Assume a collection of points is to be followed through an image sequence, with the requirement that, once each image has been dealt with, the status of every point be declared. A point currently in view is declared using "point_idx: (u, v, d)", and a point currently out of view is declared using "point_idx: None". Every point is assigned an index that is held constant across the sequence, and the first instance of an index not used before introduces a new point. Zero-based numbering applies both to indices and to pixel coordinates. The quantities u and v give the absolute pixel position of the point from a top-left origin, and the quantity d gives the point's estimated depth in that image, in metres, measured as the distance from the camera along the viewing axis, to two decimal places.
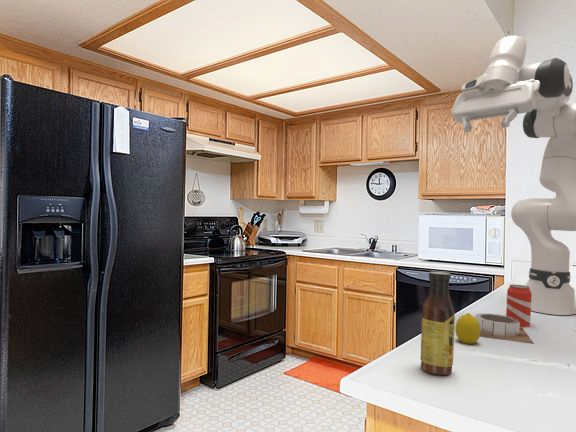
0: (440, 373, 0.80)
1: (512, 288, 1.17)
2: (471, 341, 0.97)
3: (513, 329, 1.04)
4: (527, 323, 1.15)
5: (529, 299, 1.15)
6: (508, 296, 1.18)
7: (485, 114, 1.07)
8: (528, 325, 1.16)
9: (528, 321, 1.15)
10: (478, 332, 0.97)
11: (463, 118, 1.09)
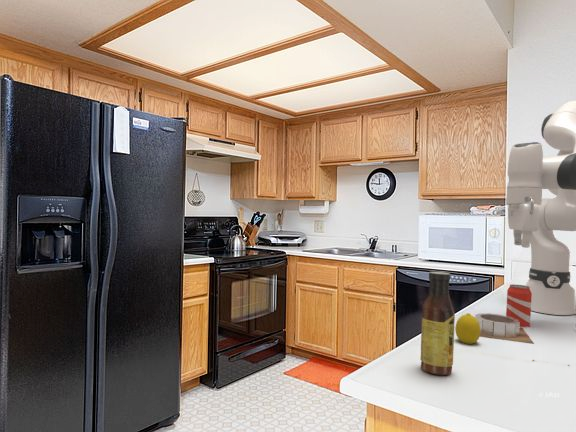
0: (440, 373, 0.80)
1: (512, 288, 1.17)
2: (471, 341, 0.97)
3: (513, 329, 1.04)
4: (527, 324, 1.15)
5: (529, 299, 1.15)
6: (508, 296, 1.18)
7: None
8: (528, 325, 1.16)
9: (528, 321, 1.15)
10: (478, 332, 0.97)
11: (513, 233, 1.23)
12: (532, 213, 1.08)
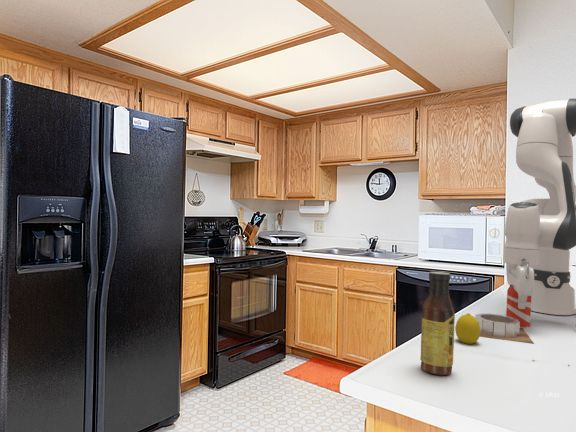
0: (440, 373, 0.80)
1: (512, 288, 1.17)
2: (471, 341, 0.97)
3: (513, 329, 1.04)
4: (527, 323, 1.15)
5: (529, 299, 1.15)
6: (508, 296, 1.18)
7: None
8: (528, 325, 1.16)
9: (528, 321, 1.15)
10: (478, 332, 0.97)
11: None
12: (528, 278, 1.09)
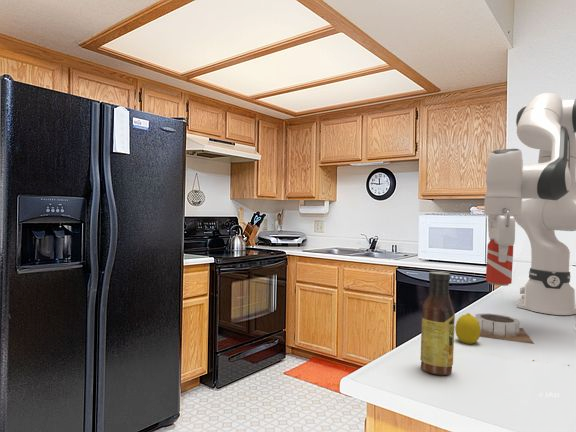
0: (440, 373, 0.80)
1: (492, 241, 1.08)
2: (471, 341, 0.97)
3: (513, 329, 1.04)
4: (508, 279, 1.06)
5: (511, 252, 1.06)
6: (488, 250, 1.09)
7: None
8: (509, 281, 1.07)
9: (509, 276, 1.06)
10: (478, 332, 0.97)
11: None
12: (508, 226, 1.00)
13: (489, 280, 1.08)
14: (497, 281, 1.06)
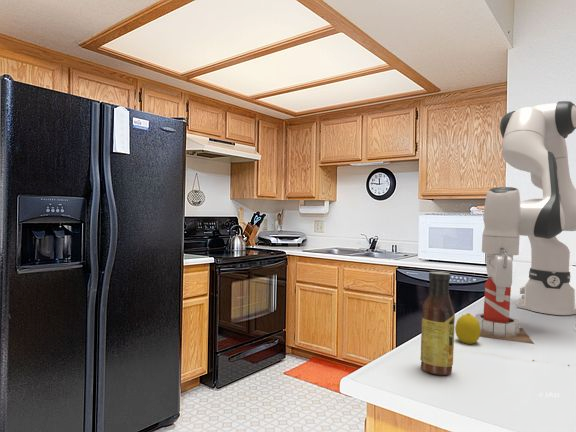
0: (440, 373, 0.80)
1: (490, 280, 1.08)
2: (471, 341, 0.97)
3: (513, 329, 1.04)
4: (505, 318, 1.06)
5: (508, 292, 1.07)
6: (486, 289, 1.09)
7: None
8: (507, 320, 1.07)
9: (507, 316, 1.07)
10: (478, 332, 0.97)
11: None
12: (505, 268, 1.00)
13: (486, 319, 1.08)
14: (494, 320, 1.07)
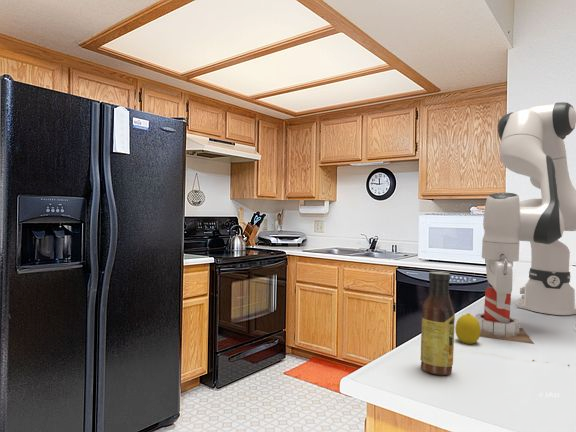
0: (440, 373, 0.80)
1: (490, 289, 1.09)
2: (471, 341, 0.97)
3: (513, 329, 1.04)
4: None
5: (508, 301, 1.07)
6: (486, 297, 1.09)
7: None
8: None
9: None
10: (478, 332, 0.97)
11: None
12: (505, 274, 1.00)
13: None
14: None
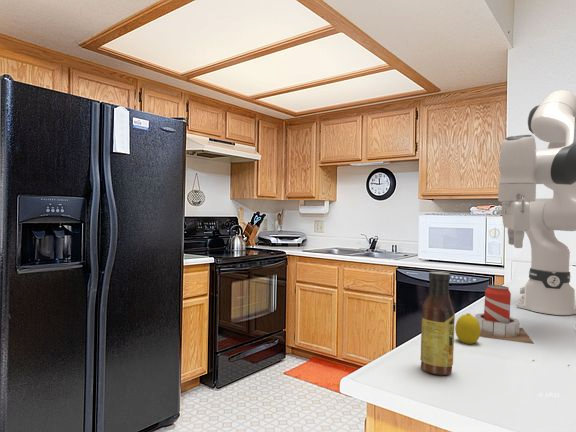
0: (440, 373, 0.80)
1: (490, 289, 1.09)
2: (470, 341, 0.97)
3: (513, 329, 1.04)
4: None
5: (508, 301, 1.07)
6: (486, 297, 1.09)
7: None
8: None
9: None
10: (478, 332, 0.97)
11: None
12: (523, 212, 1.01)
13: None
14: None
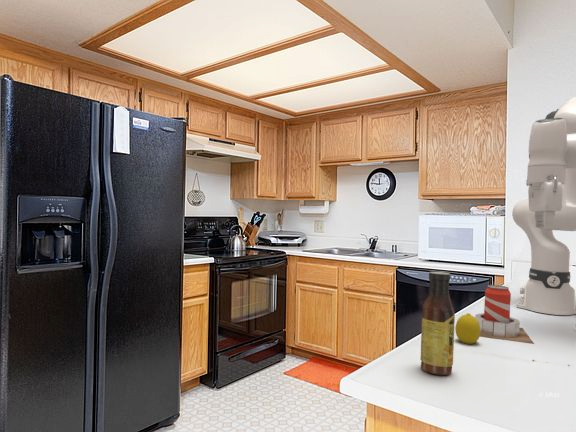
0: (440, 373, 0.80)
1: (490, 289, 1.09)
2: (470, 341, 0.97)
3: (513, 329, 1.04)
4: None
5: (508, 301, 1.07)
6: (486, 297, 1.09)
7: None
8: None
9: None
10: (478, 332, 0.97)
11: (534, 215, 1.17)
12: (555, 192, 1.01)
13: None
14: None
